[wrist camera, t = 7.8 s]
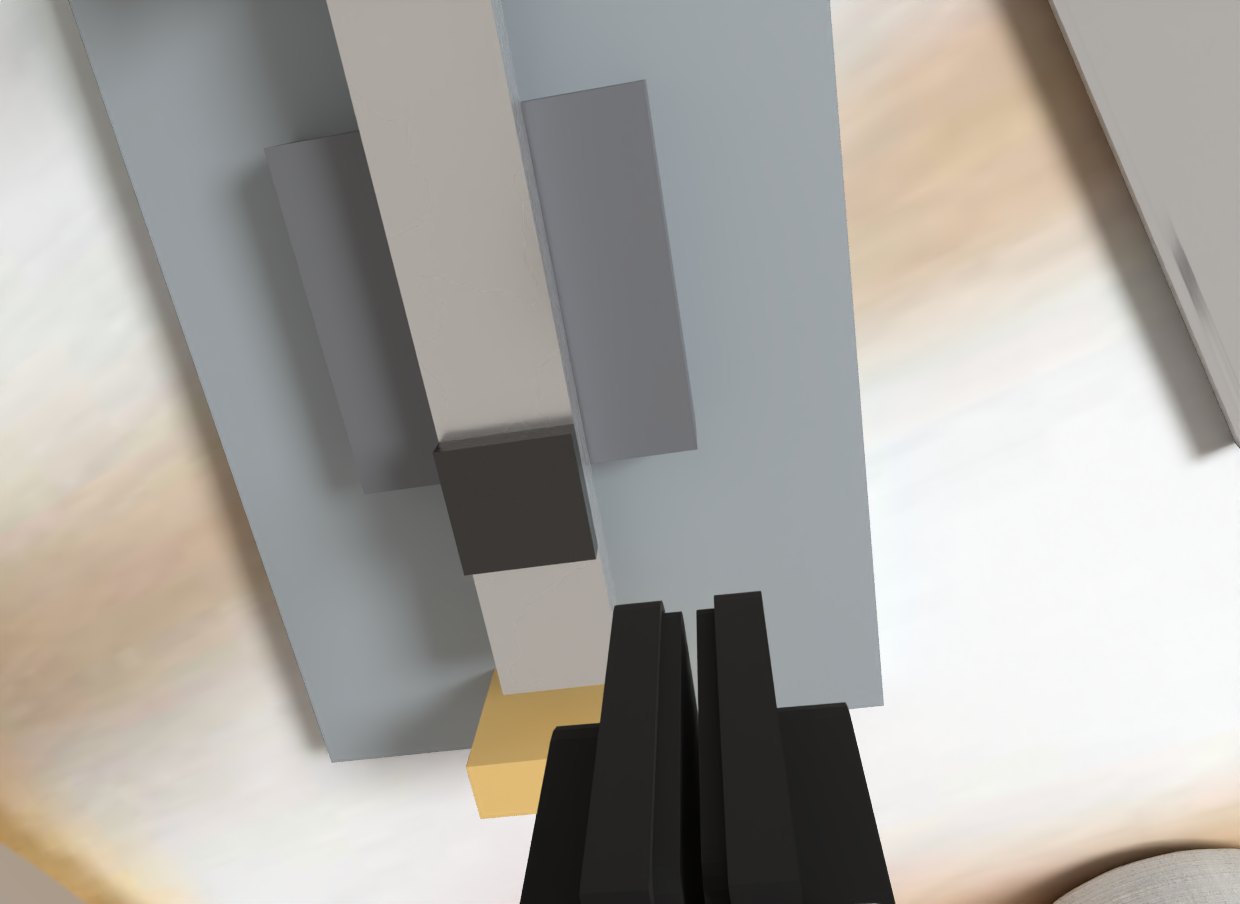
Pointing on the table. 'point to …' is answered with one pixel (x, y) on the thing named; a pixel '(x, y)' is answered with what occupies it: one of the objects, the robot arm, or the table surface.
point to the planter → (1166, 880)
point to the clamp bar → (484, 326)
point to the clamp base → (647, 504)
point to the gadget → (1175, 151)
